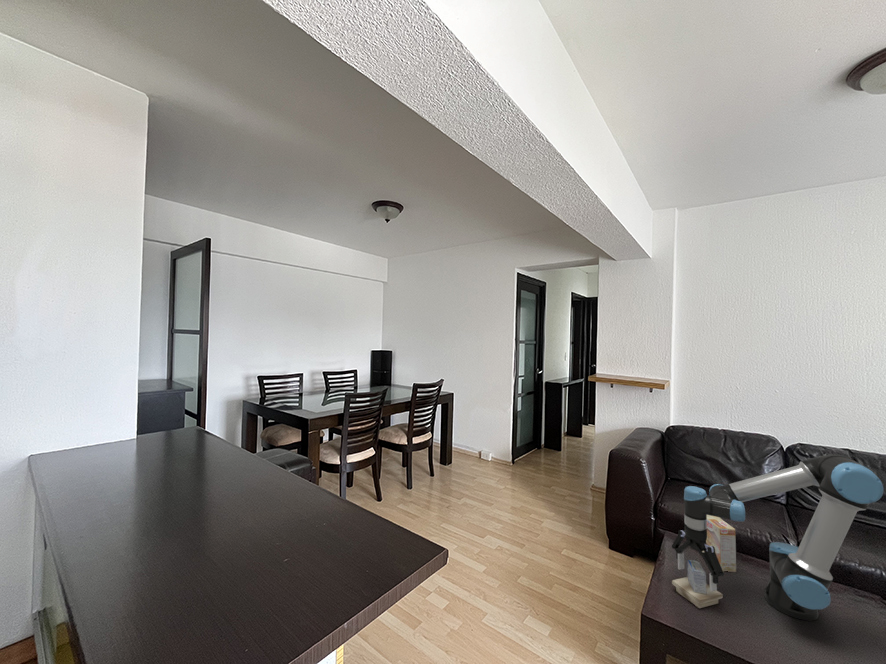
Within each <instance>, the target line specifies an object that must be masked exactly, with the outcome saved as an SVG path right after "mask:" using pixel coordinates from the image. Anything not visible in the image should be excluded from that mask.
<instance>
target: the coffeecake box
mask: <svg viewBox="0 0 886 664" xmlns="http://www.w3.org/2000/svg"><path fill="white" fill-rule="evenodd" d="M706 530H707V540H706V543H707V545H709V546H714V548H715V553H716V556H717V558H718V561H719V563H720V566H721V568H722V571H723V572H724V571H728V572H730V573H737V543H736V528H734V527H733V526H732V525H730V524H729V523H727V522H726V521H724V520H723V518H720V517H715V516H710V515H707V529H706ZM702 552H704V550H703V551H702Z"/></svg>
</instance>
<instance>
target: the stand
mask: <svg viewBox="0 0 886 664" xmlns="http://www.w3.org/2000/svg"><path fill="white" fill-rule="evenodd" d="M671 585H673V586H674V587H675V589H676V590H675V591H676V593H678V594H679V595H681V596H682V597H683V598H684V599H686V600H687V601H688V602H690V603H692V604H693V605H695V607H697V608H698V609H703V608H706V607H710V606H713V605H717V604H719V600H721V599H723V593H722V592H720V591H718V590H716V591H710V584H708V583H706V592H707V594H701V593H696V592H694V591H693V589H692V587H691V585H690V583H689V581H688V576H686V577H681V578H676V579H672V580H671Z"/></svg>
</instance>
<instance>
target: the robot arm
mask: <svg viewBox="0 0 886 664" xmlns="http://www.w3.org/2000/svg"><path fill="white" fill-rule="evenodd" d="M810 486H815V487H818V491H819V493H820V494H821V495H822V496H821V497H820V500H819V503H818V504H817V506H816V508H815V510H814V513H813V516H812V517H811V520H810V522H809V524H808V526H807V528H806V530H805V533H804V535H803V537H802V539H801V541H800V543H799V546H796V545H793V544H790V543H786V542H778V541H772V542H771V543H769V549H768V551H769V580H768V583H767V585H766V587H765V588H764V589H765V590H764V599H765V601H766V602H767V603H768V604H769V605H770V606H771V607H772V608H774V609H775V610H777V611H778V612H779V611H780V612H781V613H783V614H785V615H787V616H789V617H792V618H795V619H799V620H803V621H808V622H809V621H816V620H818V619H819V610H824V609H826V608H828V607H829V606H830V604H831V602H832V601H831V600H832V599H831V594H830V591H829V588H830V586H831V584H832V582H833V581H834V580H833V579H834V577H833V575H832V573H831V572H830V570H831V567H832V565H833V563H834V561H835V559H836V557H837V555H838V553H839V551H840V548H841V547H842V544H843V543H844V540H845V538H846V536H847V534H848V532H849V530H850V528H851V526H852V523H853V521H854V519H855V517H856V515H857V512H859V511H866V510H867V509H868V507H869V505H870V504H872V503H875V502H877V501H879V500H880V499H881V498H882V497H883V494H884V485H883V483H882V481H881V479H880V478H879V477H878V476H877V475H876V473H874V472H873V471H872V470H871V469H869V468H868V467H866V466H865V465H864V466H863V464H860V463H859V462H857V461H855V460H854V459H852V458H850V457H848V456H845V455H842V454H825V455H821V456H817V457H816V456H815V457H812V458H809V459H804V460H801V461H799V464H798V465H794V466H791V467H787V468H783V469H779V470H777V471H772V472H768V473H765V474H761V475H757V476H754V477H749V478H746V479H743V480H739V481H735V482H732V483H727V484H724V485H723V484H720V483H714V484H713V485H711V486H710V487H709V490H708V491H709V492H708V493H709V494H707V491H706V490H705V489H703V488H702V487H699V486H695V485H694V486H692V485H689V486H685V488H684V489H683V492H684V493H683V506H684V507H683V509H684V511H683V512H684V513H683V514H684V516H683V517H684V522H683V523H684V530H678V531H677V532H678V533H677V536H676V538H675V540H674V541H673V543H672V545H671V548H672V549H673V550H674V551H675V552H676V556H675V557H676V560H677V569H678V570H685V553H684V551H685V550H687V549H688V548H689V547H690V548H691V549H693V550H694V551H695V552H697V553H699V555H700V556H701V557H702V559H703V562H704V563H705V564H706V566H707V568H708V571H710V572H709V573H708V574H709V576H708V577H709V586H710V591H716V590H717V589H718V586H717V585H718V584H719V577H724V576H725V574H724V571H722V568H721V566H720V563H719V561H718V558H717V556H716V553H715V548H714V546H709V545H707V543H706V540H707V530H706V529H707V515H710V516H715V517H719V518H721V519H725V520H729V521H732V522H733V521H734V522H740V523H742V522H745V520H746V509H745V507H746V506H745V505H744V504H745V503H744V502H748V501H753V500H757V499H760V498H765V497H769V496H774V495H777V494H782V493H786V492H790V491H795V490H797V489H802V488H808V487H810ZM684 539H686V541H685V542H683V540H684ZM682 542H683V544H682ZM681 544H682V545H681ZM703 550H704V552H702V551H703ZM717 591H718V590H717Z"/></svg>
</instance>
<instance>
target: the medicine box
mask: <svg viewBox="0 0 886 664" xmlns="http://www.w3.org/2000/svg"><path fill="white" fill-rule="evenodd" d="M686 563H687V565H686V566H687V567H686V569H687V577H688V581H689V583H690V585H691V587H692V589H693V591H694V592H696V593H701V594H707V592H706V584H707V574H706V571H705V569H704V568H703V566H702V565H701V562H700V561H698V560H692V559H687V562H686Z"/></svg>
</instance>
